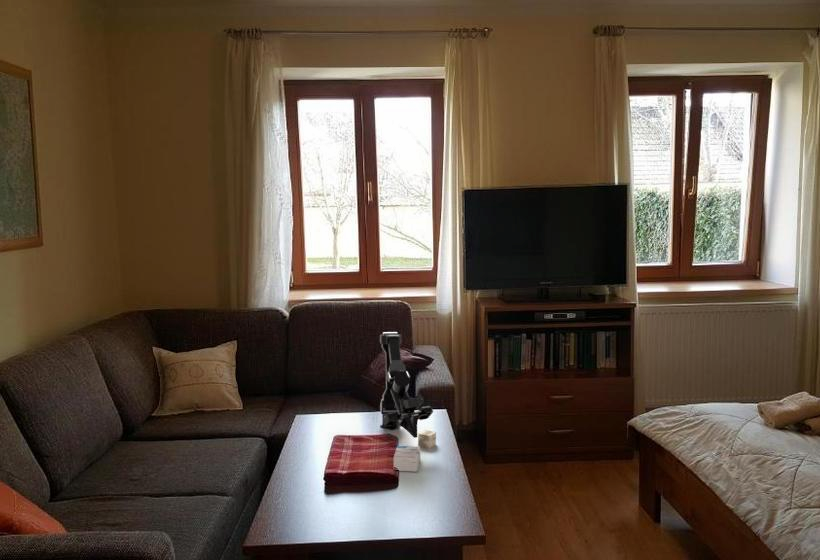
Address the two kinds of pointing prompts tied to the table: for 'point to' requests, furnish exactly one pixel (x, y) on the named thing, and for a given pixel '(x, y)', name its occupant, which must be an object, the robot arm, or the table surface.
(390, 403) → the robot arm
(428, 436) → the birch block
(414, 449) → the ink box
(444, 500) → the table surface
